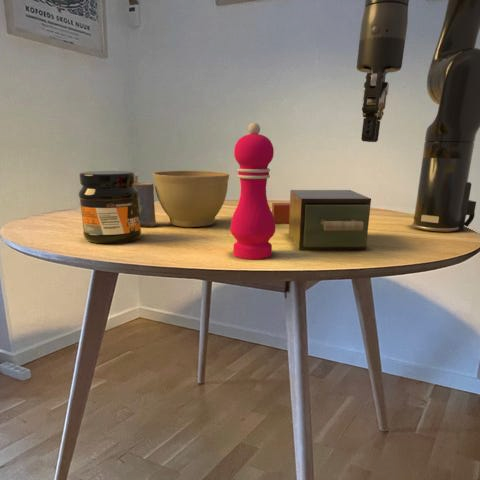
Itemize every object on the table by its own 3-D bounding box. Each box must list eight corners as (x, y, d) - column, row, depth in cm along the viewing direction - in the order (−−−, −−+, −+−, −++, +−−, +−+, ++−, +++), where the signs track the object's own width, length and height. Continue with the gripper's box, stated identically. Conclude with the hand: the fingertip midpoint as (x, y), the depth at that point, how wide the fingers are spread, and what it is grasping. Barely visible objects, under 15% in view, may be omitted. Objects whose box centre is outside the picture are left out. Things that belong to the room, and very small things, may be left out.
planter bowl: (174, 233, 93) (172, 176, 89) (144, 221, 106) (141, 171, 102) (243, 226, 101) (243, 173, 97) (207, 216, 114) (206, 169, 110)
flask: (158, 225, 101) (155, 174, 97) (149, 228, 99) (145, 175, 95) (125, 222, 105) (121, 172, 101) (116, 224, 103) (111, 173, 99)
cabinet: (366, 249, 80) (371, 198, 77) (299, 250, 80) (301, 198, 77) (346, 234, 93) (350, 189, 90) (288, 234, 93) (290, 189, 90)
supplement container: (111, 247, 81) (104, 175, 77) (71, 240, 87) (63, 172, 82) (153, 237, 89) (149, 172, 85) (114, 231, 95) (108, 169, 90)
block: (288, 220, 109) (289, 202, 107) (291, 223, 105) (291, 205, 104) (271, 220, 109) (272, 202, 107) (273, 223, 105) (273, 205, 103)
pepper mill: (229, 250, 80) (228, 123, 72) (271, 249, 80) (274, 123, 73) (232, 260, 73) (231, 121, 66) (277, 259, 74) (282, 121, 66)
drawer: (374, 253, 74) (379, 209, 71) (309, 253, 74) (312, 210, 71) (347, 232, 90) (350, 196, 88) (293, 232, 90) (295, 196, 87)
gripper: (404, 29, 72) (389, 142, 77) (406, 46, 84) (392, 142, 90) (355, 31, 74) (343, 140, 80) (363, 47, 86) (353, 141, 92)
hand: (369, 141), depth 85 cm, fingers open, 8 cm apart
